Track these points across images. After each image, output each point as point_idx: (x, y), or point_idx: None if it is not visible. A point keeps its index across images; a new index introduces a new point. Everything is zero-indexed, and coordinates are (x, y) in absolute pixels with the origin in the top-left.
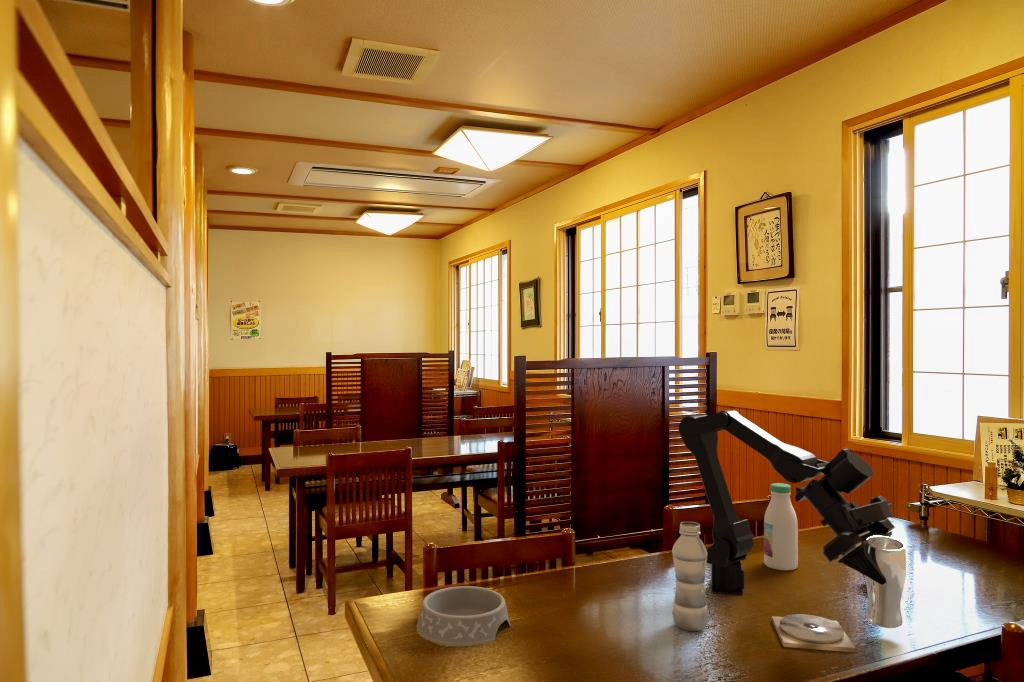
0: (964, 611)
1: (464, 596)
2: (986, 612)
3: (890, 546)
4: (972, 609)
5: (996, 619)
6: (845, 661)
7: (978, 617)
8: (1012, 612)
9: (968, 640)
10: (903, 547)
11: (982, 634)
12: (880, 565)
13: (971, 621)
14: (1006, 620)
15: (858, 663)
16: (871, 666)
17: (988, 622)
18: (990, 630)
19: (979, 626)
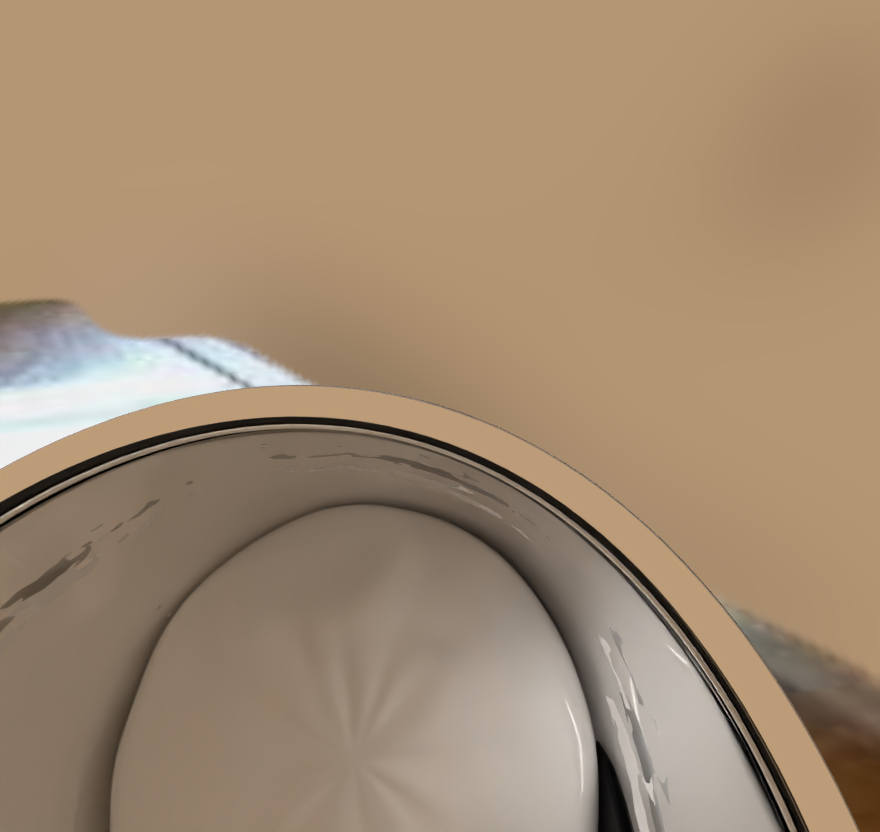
0: (32, 416)
1: None
2: (24, 363)
3: None
4: (6, 398)
5: (78, 336)
6: (842, 781)
7: (76, 377)
8: (5, 308)
9: (296, 383)
10: (375, 413)
11: (224, 356)
12: (661, 816)
13: (120, 391)
14: (78, 315)
15: (810, 715)
16: (791, 655)
17: (112, 351)
18: (179, 341)
19: (157, 368)
